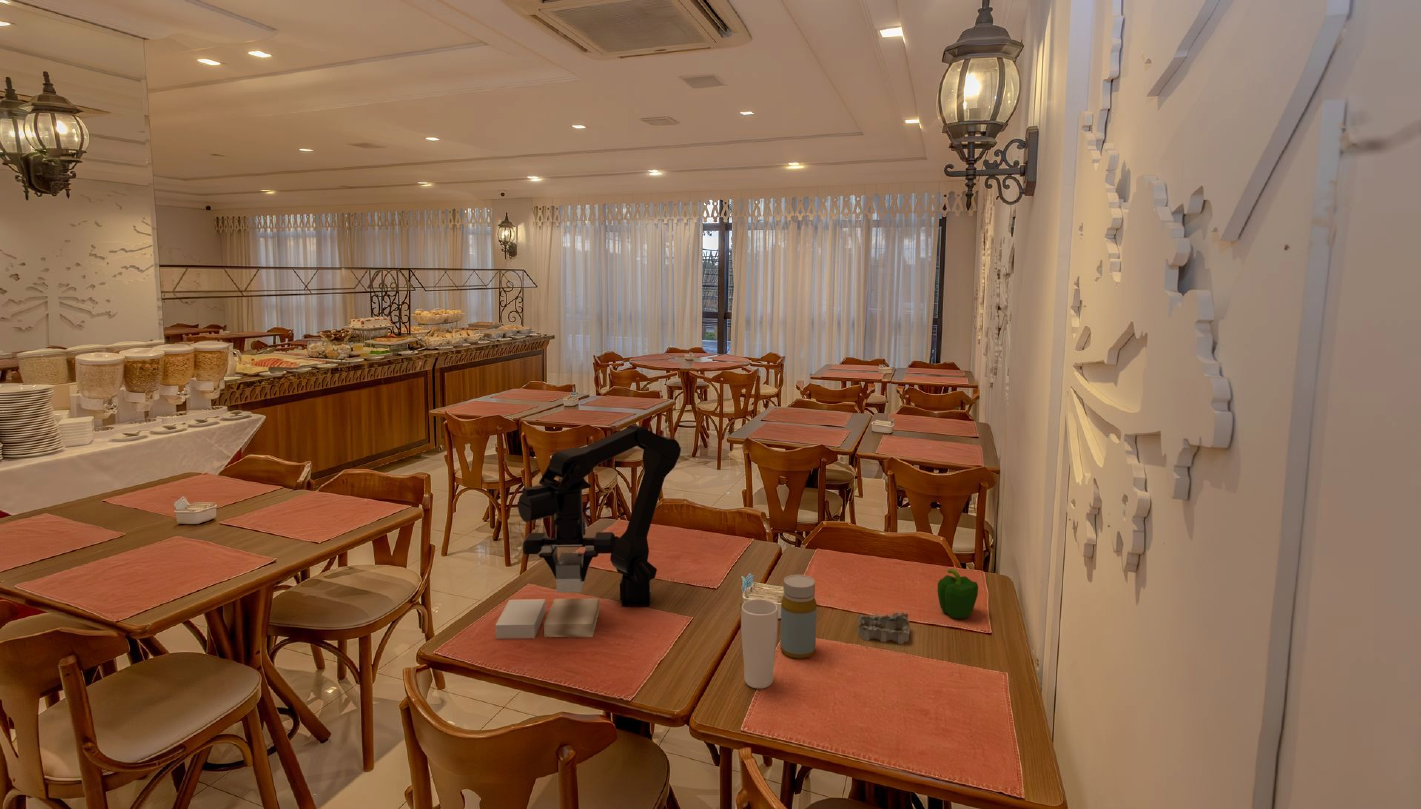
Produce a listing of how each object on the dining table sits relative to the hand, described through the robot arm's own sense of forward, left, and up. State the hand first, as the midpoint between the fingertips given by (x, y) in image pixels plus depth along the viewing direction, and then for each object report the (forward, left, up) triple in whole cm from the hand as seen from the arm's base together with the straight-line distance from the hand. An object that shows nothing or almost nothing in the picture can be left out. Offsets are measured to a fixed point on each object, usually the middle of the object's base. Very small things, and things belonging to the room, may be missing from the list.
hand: (571, 580), depth 155 cm
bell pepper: (-85, -2, -10) cm, 86 cm away
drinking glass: (-38, +24, -10) cm, 46 cm away
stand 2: (0, 0, -10) cm, 10 cm away
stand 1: (+11, 0, -10) cm, 15 cm away
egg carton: (-66, +7, -10) cm, 67 cm away
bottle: (-47, +13, -10) cm, 50 cm away
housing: (0, 0, -1) cm, 1 cm away
